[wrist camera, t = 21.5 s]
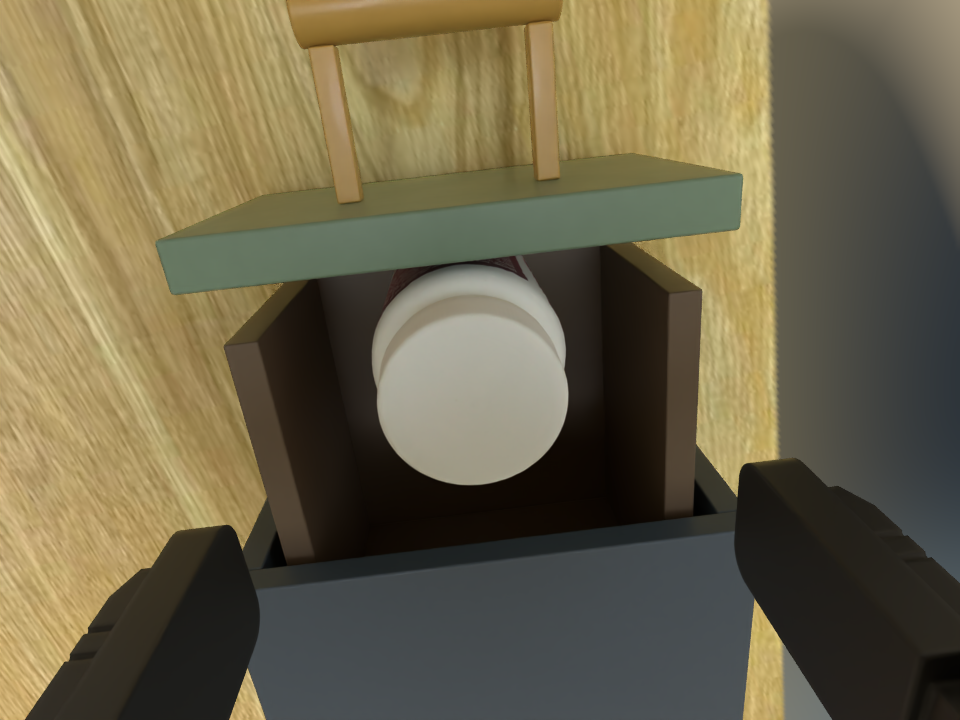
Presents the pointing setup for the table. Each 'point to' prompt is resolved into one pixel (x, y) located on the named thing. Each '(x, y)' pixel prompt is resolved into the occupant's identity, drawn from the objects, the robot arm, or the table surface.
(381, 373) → the pill bottle
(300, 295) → the drawer
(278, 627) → the cabinet
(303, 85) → the table surface
